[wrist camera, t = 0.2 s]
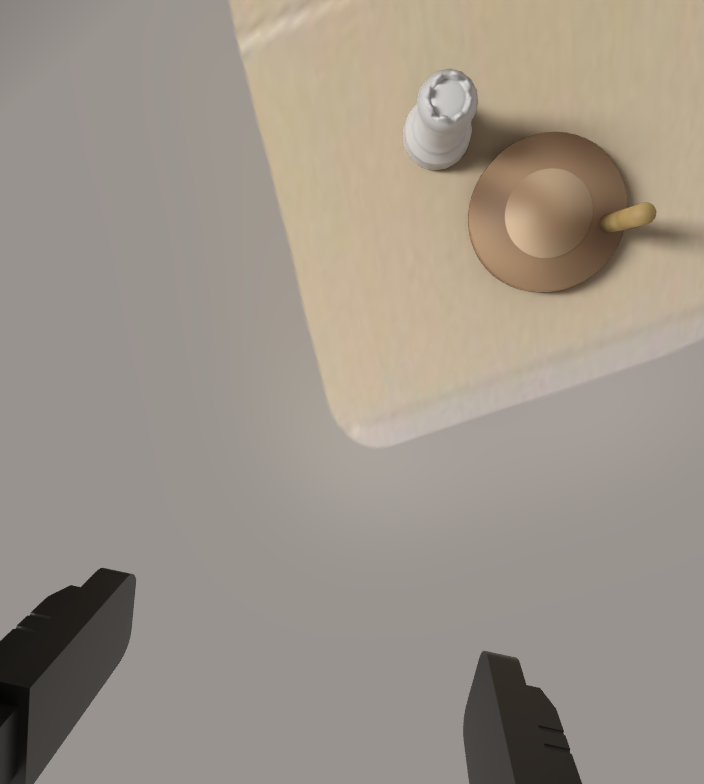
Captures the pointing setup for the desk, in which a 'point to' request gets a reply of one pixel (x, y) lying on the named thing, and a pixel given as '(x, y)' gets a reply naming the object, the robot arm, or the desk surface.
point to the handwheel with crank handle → (550, 212)
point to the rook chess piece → (441, 120)
